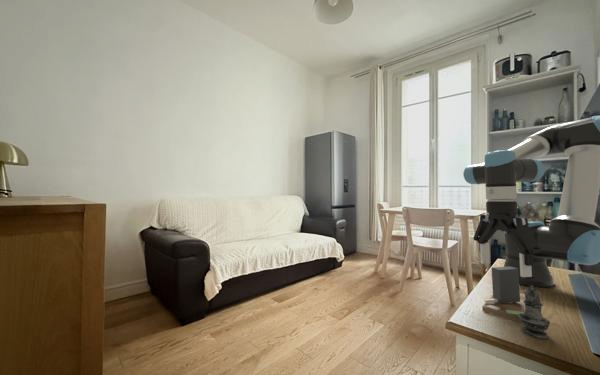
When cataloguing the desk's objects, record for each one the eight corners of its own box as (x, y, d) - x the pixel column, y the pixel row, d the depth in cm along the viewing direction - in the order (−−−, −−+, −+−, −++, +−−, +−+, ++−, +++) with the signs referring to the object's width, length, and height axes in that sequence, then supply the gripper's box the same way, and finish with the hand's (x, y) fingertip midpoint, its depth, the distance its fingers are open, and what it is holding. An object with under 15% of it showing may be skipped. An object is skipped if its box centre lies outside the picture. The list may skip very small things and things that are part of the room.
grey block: (511, 299, 77) (510, 266, 78) (520, 302, 74) (518, 268, 75) (481, 301, 76) (480, 268, 77) (489, 305, 74) (487, 270, 74)
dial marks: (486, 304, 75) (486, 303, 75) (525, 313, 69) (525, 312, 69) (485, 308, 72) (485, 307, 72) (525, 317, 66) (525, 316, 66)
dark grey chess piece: (553, 334, 61) (550, 285, 62) (548, 342, 58) (545, 291, 58) (522, 324, 66) (520, 279, 66) (515, 331, 63) (513, 284, 63)
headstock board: (498, 292, 86) (498, 288, 86) (538, 301, 79) (537, 296, 79) (482, 311, 74) (482, 306, 74) (527, 324, 66) (527, 318, 66)
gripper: (460, 200, 89) (462, 259, 88) (530, 201, 64) (534, 284, 63) (479, 199, 89) (482, 258, 88) (557, 201, 64) (561, 283, 64)
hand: (503, 269), depth 76 cm, fingers open, 13 cm apart
